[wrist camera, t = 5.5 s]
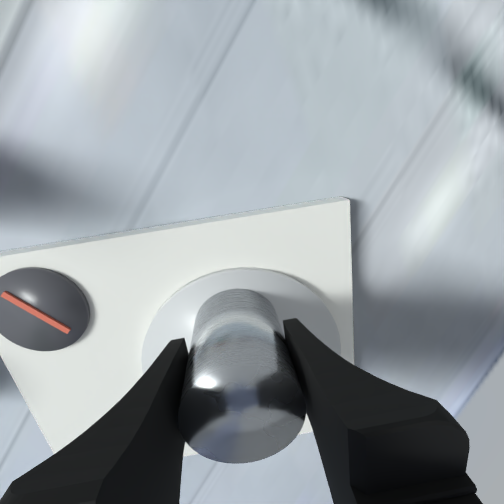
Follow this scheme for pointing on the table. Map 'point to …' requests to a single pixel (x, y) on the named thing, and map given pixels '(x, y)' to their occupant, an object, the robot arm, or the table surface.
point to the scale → (161, 300)
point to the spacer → (239, 381)
